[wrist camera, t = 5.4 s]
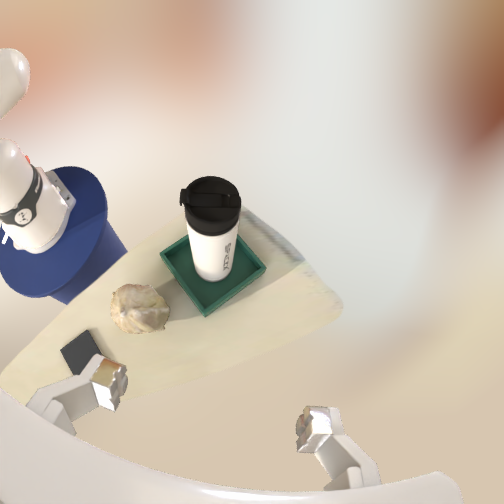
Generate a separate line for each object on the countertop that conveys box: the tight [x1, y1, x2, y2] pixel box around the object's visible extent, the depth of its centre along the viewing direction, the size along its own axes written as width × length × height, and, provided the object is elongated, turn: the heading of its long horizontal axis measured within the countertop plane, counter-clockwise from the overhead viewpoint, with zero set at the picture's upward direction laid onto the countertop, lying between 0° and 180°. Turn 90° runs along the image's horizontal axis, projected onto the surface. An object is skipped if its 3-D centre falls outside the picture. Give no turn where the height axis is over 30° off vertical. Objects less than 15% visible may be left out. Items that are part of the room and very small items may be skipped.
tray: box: [160, 234, 266, 317], centre depth 45 cm, size 13×13×2 cm
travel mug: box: [180, 176, 241, 282], centre depth 37 cm, size 6×7×20 cm
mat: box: [60, 330, 102, 375], centre depth 36 cm, size 7×7×1 cm
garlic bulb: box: [111, 284, 170, 334], centre depth 37 cm, size 9×8×10 cm
